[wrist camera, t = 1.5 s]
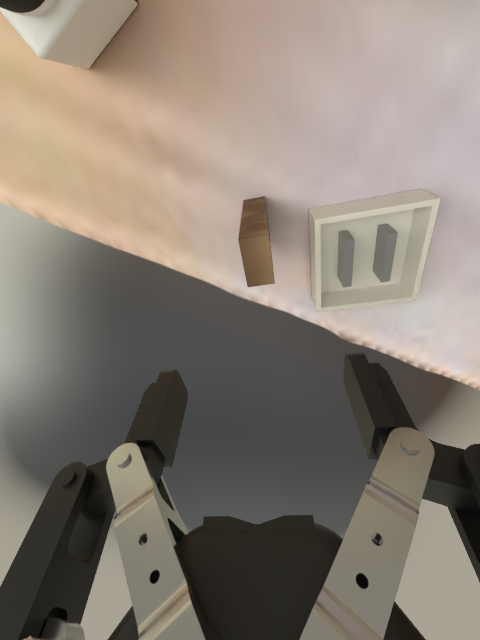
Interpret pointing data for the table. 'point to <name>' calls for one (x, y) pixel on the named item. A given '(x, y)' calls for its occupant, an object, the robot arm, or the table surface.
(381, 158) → the table surface
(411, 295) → the plank slot holder tray
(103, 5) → the medicine bottle
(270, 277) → the wooden plank piece
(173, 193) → the table surface
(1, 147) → the table surface
